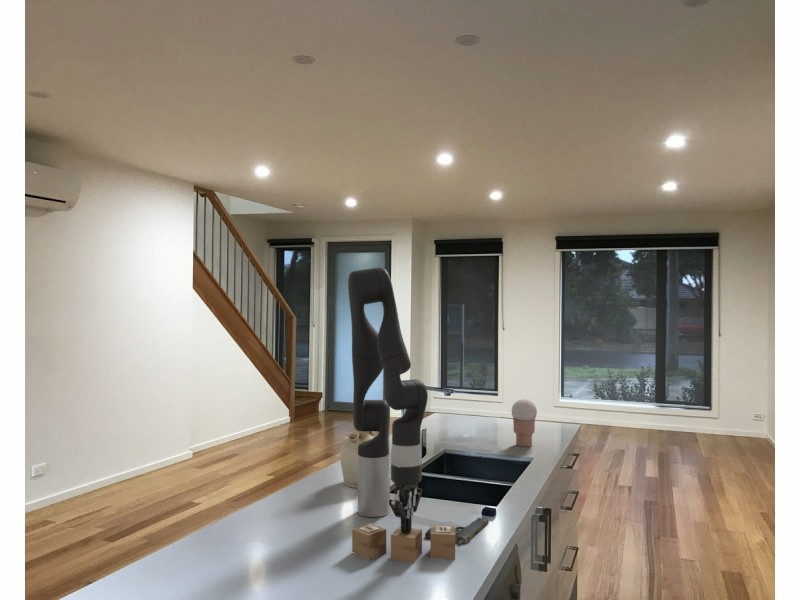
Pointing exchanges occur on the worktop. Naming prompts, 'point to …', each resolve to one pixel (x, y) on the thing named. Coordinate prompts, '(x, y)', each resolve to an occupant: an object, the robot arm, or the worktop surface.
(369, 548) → the labelled block
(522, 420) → the ice cream cone
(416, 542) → the plain block
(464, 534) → the pistol
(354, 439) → the jug
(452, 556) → the labelled block
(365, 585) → the worktop surface
